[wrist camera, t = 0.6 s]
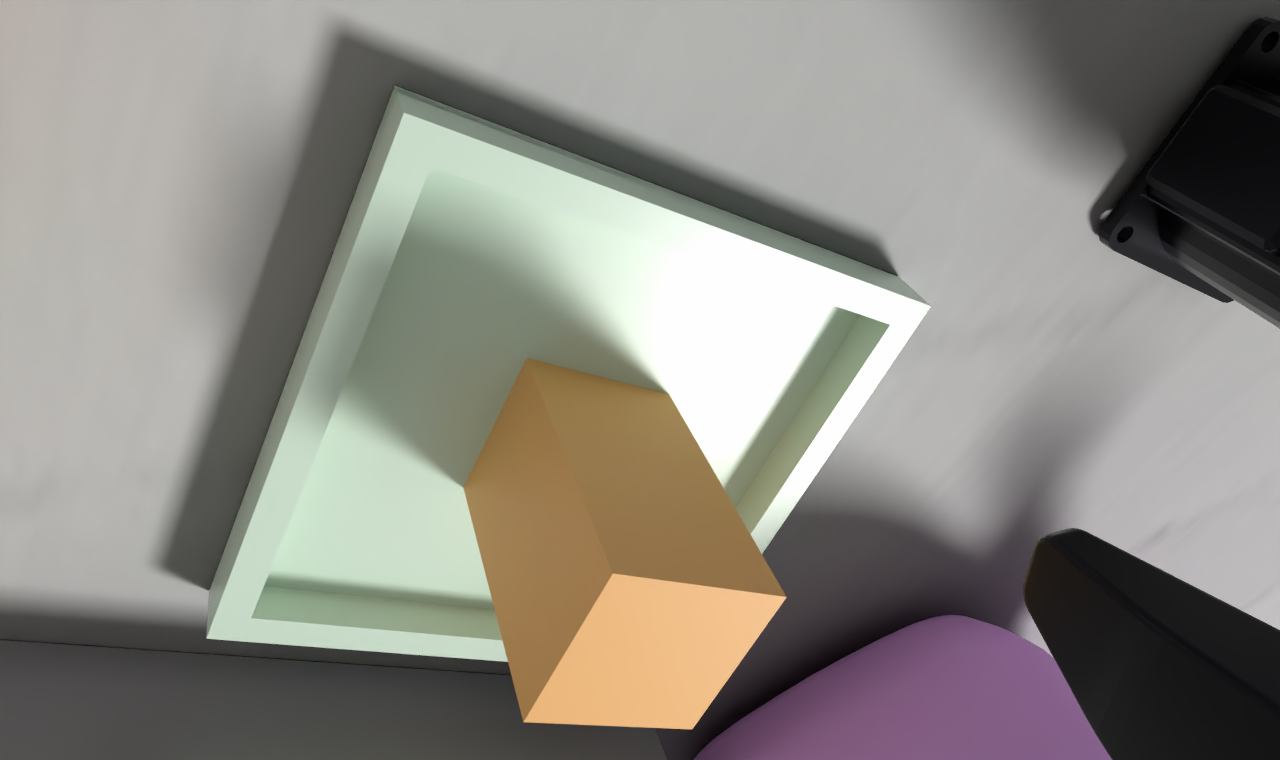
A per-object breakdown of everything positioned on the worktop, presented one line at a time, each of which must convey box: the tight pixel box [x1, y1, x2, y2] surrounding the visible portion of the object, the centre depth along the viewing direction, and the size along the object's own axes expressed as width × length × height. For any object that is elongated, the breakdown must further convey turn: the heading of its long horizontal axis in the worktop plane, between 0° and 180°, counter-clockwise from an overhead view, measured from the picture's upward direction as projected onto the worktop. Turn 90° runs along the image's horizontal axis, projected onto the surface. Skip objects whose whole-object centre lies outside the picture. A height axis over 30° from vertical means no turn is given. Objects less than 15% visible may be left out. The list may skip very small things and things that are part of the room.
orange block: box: [463, 358, 786, 729], centre depth 21 cm, size 4×4×7 cm
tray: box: [206, 86, 931, 662], centre depth 24 cm, size 14×14×2 cm
